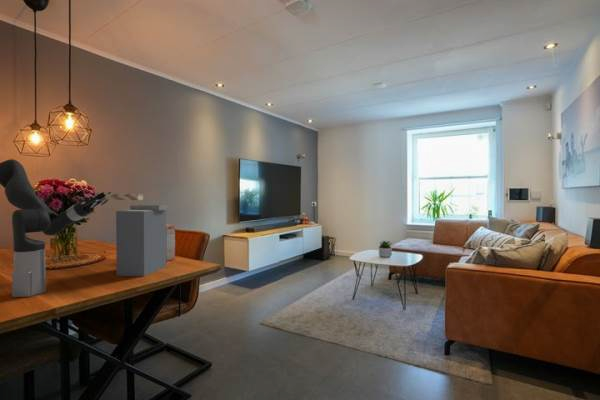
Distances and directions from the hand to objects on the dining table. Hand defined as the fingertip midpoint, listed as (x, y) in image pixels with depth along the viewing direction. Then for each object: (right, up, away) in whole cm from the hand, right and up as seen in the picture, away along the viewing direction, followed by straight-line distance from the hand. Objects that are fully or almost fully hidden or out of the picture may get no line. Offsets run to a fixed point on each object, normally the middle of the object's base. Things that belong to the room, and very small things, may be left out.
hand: (107, 193), depth 149 cm
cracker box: (+14, -39, +32) cm, 52 cm away
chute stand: (+15, -39, +5) cm, 42 cm away
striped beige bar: (+6, -3, 0) cm, 7 cm away
